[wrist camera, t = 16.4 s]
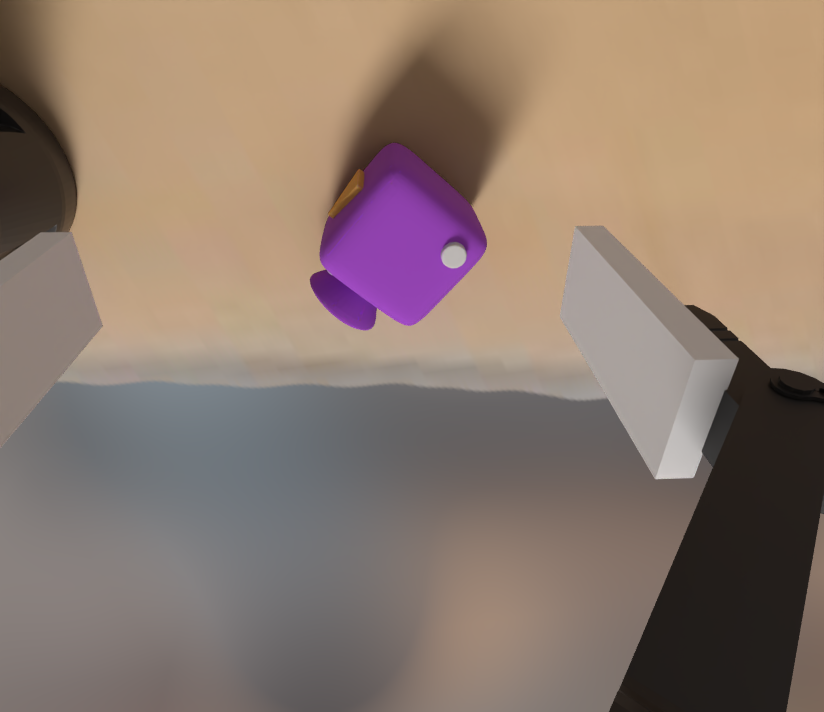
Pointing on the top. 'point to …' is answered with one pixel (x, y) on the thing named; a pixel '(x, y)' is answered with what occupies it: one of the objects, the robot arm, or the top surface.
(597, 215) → the top surface
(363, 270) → the toy camera
